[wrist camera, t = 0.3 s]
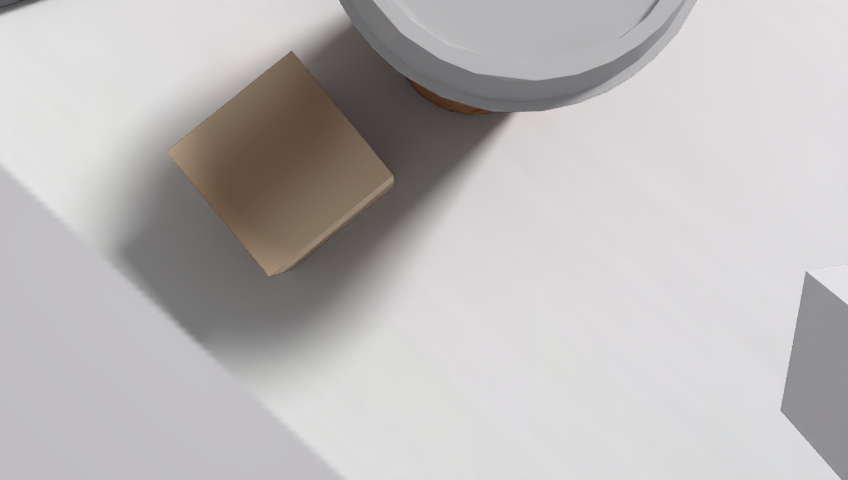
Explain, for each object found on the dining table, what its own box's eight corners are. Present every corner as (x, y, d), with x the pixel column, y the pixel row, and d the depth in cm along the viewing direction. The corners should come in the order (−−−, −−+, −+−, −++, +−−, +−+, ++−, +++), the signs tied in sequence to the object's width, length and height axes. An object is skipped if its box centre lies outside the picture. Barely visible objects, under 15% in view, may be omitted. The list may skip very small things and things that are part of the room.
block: (394, 186, 29) (393, 175, 24) (291, 269, 29) (268, 276, 24) (310, 83, 29) (291, 50, 24) (206, 166, 29) (166, 151, 24)
